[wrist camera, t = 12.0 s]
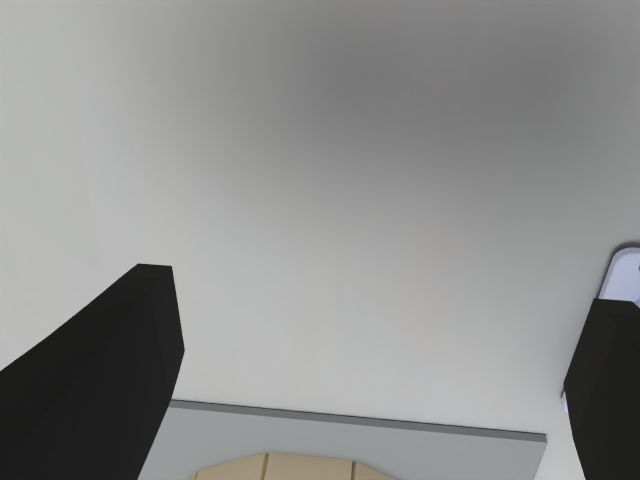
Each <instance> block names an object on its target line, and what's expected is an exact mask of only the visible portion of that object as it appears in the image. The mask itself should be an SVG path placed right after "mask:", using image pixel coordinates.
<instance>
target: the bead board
mask: <svg viewBox="0 0 640 480" xmlns="http://www.w3.org/2000/svg"><path fill="white" fill-rule="evenodd" d="M546 445H547V439H546V435H542V434H531V433H520V432H509V431H499V430H488V429H477V428H466V427H455V426H445V425H434V424H423V423H412V422H401V421H391V420H380V419H369V418H358V417H347V416H337V415H326V414H315V413H304V412H293V411H283V410H272V409H261V408H250V407H239V406H229V405H218V404H207V403H196V402H185V401H175V400H171V401H170V404H169V406H168V409H167V411H166V414H165V416H164V418H163V421H162V423H161V426H160V428H159V430H158V433H157V435H156V437H155V440H154V442H153V445H152V447H151V449H150V452H149V454H148V456H147V459H146V461H145V463H144V466H143V468H142V470H141V473H140V475H139V477H138V480H534V478H535V475H536V473H537V470H538V467H539V464H540V462H541V459H542V456H543V453H544V451H545V448H546Z"/></svg>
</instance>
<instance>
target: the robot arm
mask: <svg viewBox="0 0 640 480" xmlns="http://www.w3.org/2000/svg"><path fill="white" fill-rule="evenodd" d="M639 265H640V248H633V247H632V248H625V249H622V250H620V251H619V252H617V253H616V254H615V255H614V257H613V259H612V261H611V264H610V267H609V270H608V272H607V275H606V278H605V281H604V283H603V286H602V289H601V292H600V294H599V297H598V298H594V300H593V302H592V305H591V308H590V311H589V314H588V316H587V319H586V322H585V325H584V327H583V330H582V333H581V336H580V339H579V341H578V344H577V347H576V350H575V353H574V355H573V358H572V361H571V364H570V367H569V369H568V372H567V375H566V378H565V381H564V389H565V391H564V393H563V396H562V399H561V405H562V409H563V411H564V412H565V413H567V414H569V419H570V425H571V430H572V435H573V440H574V443H575V447H576V450H577V453H578V456H579V460H580V463H581V466H582V469H583V473H584V476H585V479H586V480H640V266H639ZM184 351H185V349H184V342H183V336H182V329H181V323H180V316H179V310H178V303H177V297H176V290H175V284H174V277H173V271H172V266H164V265H151V264H137V265H136V266H134V267H133V268H132V269H130V270H129V271H128V272H127V273H125V274H124V275H123V276H122V277H121V278H119V279H118V280H117V281H116V282H114V283H113V284H112V285H111V286H110V287H108V288H107V289H106V290H105V291H104V292H102V293H101V294H100V295H99V296H98V297H96V298H95V299H94V300H93V301H92V302H90V303H89V304H88V305H87V306H85V307H84V308H83V309H82V310H80V311H79V312H78V313H77V314H75V315H74V316H73V317H72V318H70V319H69V320H68V321H67V322H65V323H64V324H63V325H62V326H60V327H59V328H58V329H57V330H55V331H54V332H53V333H52V334H50V335H49V336H48V337H46V338H45V339H44V340H42V341H41V342H40V343H38V344H37V345H36V346H34V347H33V348H31V349H30V350H29V351H27V352H26V353H25V354H23V355H22V356H20V357H19V358H18V359H16V360H15V361H14V362H12V363H11V364H9V365H8V366H7V367H5V368H4V369H3V370H1V371H0V480H138V477H139V475H140V473H141V470H142V468H143V466H144V463H145V461H146V459H147V456H148V454H149V452H150V449H151V447H152V445H153V442H154V440H155V437H156V435H157V433H158V430H159V428H160V426H161V423H162V421H163V418H164V416H165V414H166V411H167V409H168V406H169V404H170V401H171V398H172V394H173V391H174V388H175V384H176V381H177V377H178V374H179V370H180V366H181V362H182V359H183V355H184Z"/></svg>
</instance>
